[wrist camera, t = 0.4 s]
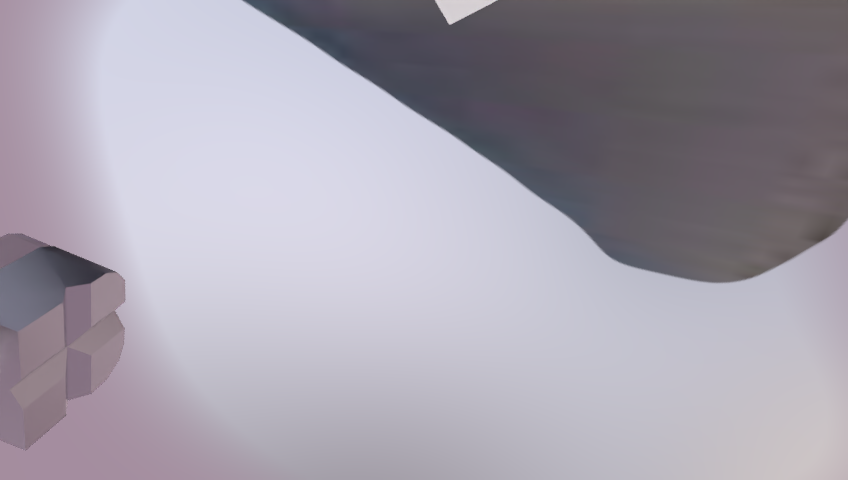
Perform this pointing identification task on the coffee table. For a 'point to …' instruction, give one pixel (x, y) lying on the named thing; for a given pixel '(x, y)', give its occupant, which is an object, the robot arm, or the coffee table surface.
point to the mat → (460, 8)
